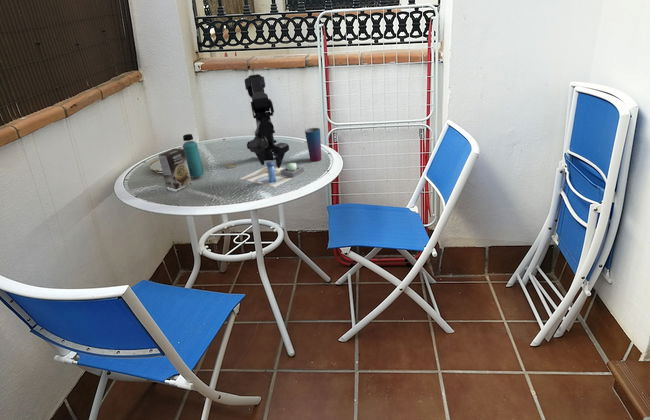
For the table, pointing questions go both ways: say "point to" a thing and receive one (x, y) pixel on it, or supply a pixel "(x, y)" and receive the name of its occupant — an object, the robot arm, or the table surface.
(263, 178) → the beige flat board
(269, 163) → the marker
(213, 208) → the table surface
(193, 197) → the table surface
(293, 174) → the button housing
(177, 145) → the table surface
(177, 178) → the coffee box
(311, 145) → the cup
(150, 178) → the table surface
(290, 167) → the button
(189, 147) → the beverage bottle
